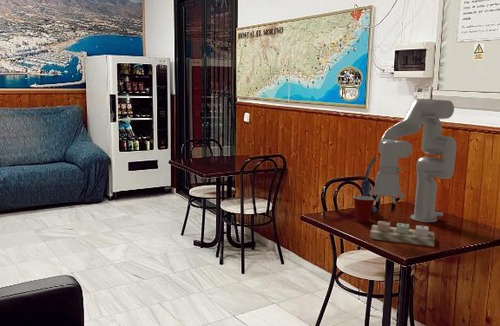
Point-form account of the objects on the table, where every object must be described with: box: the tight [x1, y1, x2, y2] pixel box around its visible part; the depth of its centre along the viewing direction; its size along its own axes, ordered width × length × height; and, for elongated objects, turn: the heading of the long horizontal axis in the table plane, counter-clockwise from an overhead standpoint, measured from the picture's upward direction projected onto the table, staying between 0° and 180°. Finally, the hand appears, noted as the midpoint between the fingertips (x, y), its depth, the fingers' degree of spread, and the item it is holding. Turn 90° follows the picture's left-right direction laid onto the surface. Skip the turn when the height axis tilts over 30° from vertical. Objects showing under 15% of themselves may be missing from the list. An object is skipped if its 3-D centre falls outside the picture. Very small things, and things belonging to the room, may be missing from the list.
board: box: [369, 224, 436, 247], centre depth 219 cm, size 26×12×3 cm, turn 72°
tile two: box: [396, 222, 410, 234], centre depth 219 cm, size 5×5×4 cm
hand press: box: [360, 156, 378, 214], centre depth 264 cm, size 19×9×28 cm, turn 154°
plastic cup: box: [352, 195, 375, 223], centre depth 245 cm, size 11×11×12 cm
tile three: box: [377, 220, 391, 232], centre depth 221 cm, size 5×5×4 cm
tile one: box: [415, 225, 430, 237], centre depth 216 cm, size 5×5×4 cm
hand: (384, 210), depth 220 cm, fingers open, 5 cm apart
